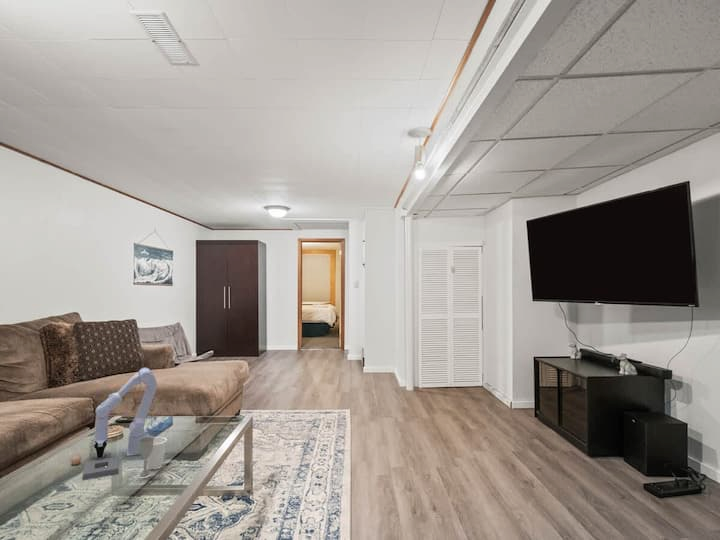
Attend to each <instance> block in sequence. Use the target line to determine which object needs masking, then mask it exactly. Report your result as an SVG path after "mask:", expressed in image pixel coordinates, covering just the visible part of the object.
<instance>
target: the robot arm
mask: <svg viewBox="0 0 720 540" xmlns="http://www.w3.org/2000/svg"><path fill="white" fill-rule="evenodd" d="M142 383H143V384H144V385H145V386H146V389H145V390H144V394H143V397H142V399H141V401H140V404H139V407H138V410H137V412H136V414H135V417H133V420H132V421H131V422H130V424H129V427H128V428H129V431H130V433H129V434H128V441H127V443H128V445H127V449H126V456H127V457H129V456H137V455H141V454H140V452H139V440H138V439H139V438H140V437H142V436H149V434H148V433H145V425H146V419H147V415H148V413H149V410H150V407H151V404H152V402H153V399H154V397H155V395H156V391H157V389H158V383H157V379H156V377H155V374H154V372H153V371H152V370H151V369H150V368H148V367H141V368H140V369H139V370H138V371H137V372H136V373H135V374H133V376H131V377H130V379H128V381H127V382H126V383H125V384H124V385H123V386H122V387H121V388H120V389H119V390H118V391H117V392H113V393H110V394H109V395H108V397H107V398H106V400H104V401H103V402H101V403H100V404H99V405H98V406H97V407H96V409H95V410H94V411H95V421H94V437H92V438H91V441H92V442H93V441H94V444H93V447H94V449H95V451H96V453H97V457H98V458H100V457H103V453H104V452H105V449H106V447H107V446H108V443H107V441H108V439H109V435H108V433H109V415H110V411H112V410H113V409H115V408H116V407H117V405H118V404H119V403H121V402H122V401H123V397H124V395H125V394H127V393H128V392H129V391H130V390H132V389H133V387H134V386H137V385H142ZM103 458H104V457H103Z"/></svg>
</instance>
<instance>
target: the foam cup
mask: <svg viewBox="0 0 720 540" xmlns="http://www.w3.org/2000/svg"><path fill="white" fill-rule="evenodd" d="M154 437H155V436H154ZM167 444H168V439H167V438H166V437H164V436H158V437H157V436H156V437H155V438H154V440H153V450H152V452H151V454H150V456H149V457H148V458H147V463H146V464H147V469H148V468H149V469H148V470H150V469H155V468H158V467H160V466H162V467H163V465H164V463H163V462H164V459H165V454H166V453H165V452H166V447H167ZM162 464H163V465H162Z"/></svg>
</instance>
